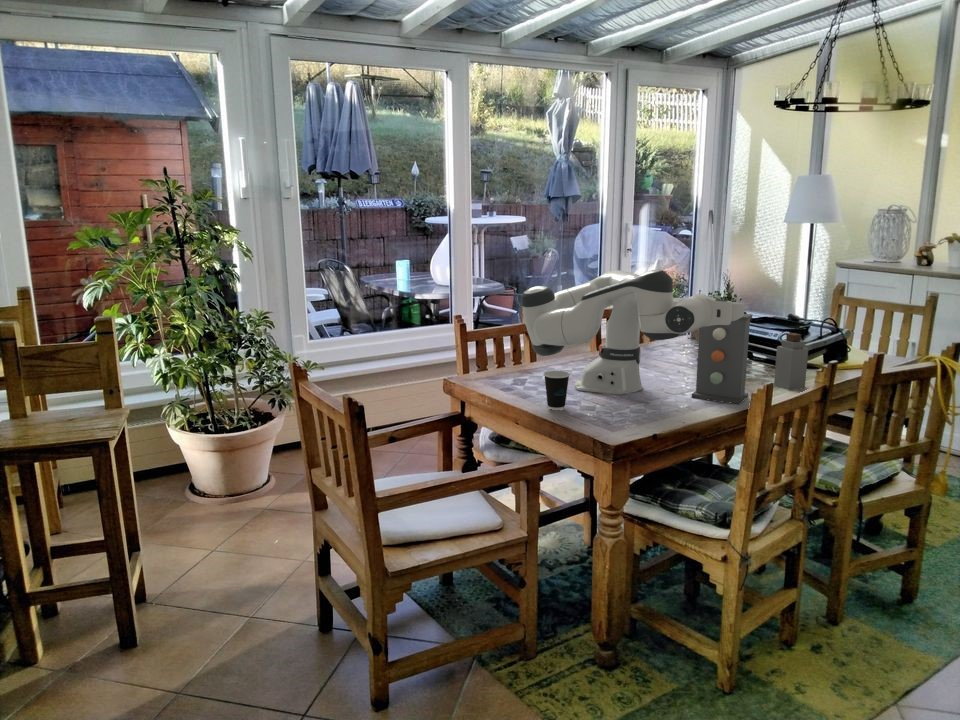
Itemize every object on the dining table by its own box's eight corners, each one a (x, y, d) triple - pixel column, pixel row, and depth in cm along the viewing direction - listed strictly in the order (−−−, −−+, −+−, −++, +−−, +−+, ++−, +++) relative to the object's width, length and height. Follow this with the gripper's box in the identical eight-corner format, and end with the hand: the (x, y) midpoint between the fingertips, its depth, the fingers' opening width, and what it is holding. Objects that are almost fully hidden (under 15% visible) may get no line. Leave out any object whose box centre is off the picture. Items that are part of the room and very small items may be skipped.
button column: (691, 397, 235) (696, 314, 228) (701, 390, 243) (706, 309, 237) (739, 404, 226) (745, 318, 220) (747, 396, 235) (754, 313, 228)
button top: (712, 339, 226) (712, 328, 225) (715, 337, 229) (716, 326, 228) (724, 340, 224) (724, 329, 223) (727, 338, 227) (727, 327, 226)
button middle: (710, 361, 228) (711, 350, 227) (714, 359, 230) (714, 348, 230) (722, 363, 226) (723, 351, 225) (725, 360, 228) (726, 349, 228)
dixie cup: (561, 413, 219) (561, 378, 217) (538, 409, 224) (538, 374, 221) (573, 407, 226) (574, 372, 223) (551, 403, 230) (551, 369, 228)
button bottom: (709, 383, 229) (710, 372, 229) (712, 381, 232) (713, 370, 231) (721, 384, 227) (721, 373, 227) (724, 382, 230) (724, 371, 229)
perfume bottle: (789, 383, 250) (794, 331, 246) (804, 388, 244) (809, 335, 240) (773, 385, 248) (778, 333, 243) (788, 390, 241) (793, 336, 237)
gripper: (661, 318, 207) (678, 311, 218) (735, 325, 196) (748, 317, 207) (662, 296, 205) (679, 290, 216) (736, 302, 194) (750, 295, 205)
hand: (713, 303), depth 211 cm, fingers closed
